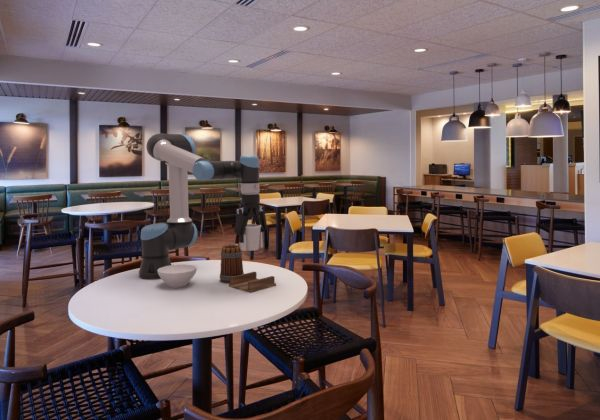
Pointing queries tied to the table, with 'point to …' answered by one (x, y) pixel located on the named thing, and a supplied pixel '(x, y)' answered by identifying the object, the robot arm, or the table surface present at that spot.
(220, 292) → the table surface
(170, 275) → the bowl
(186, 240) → the robot arm
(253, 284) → the rail stand
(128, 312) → the table surface
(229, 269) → the mug
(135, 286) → the table surface
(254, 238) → the dixie cup
